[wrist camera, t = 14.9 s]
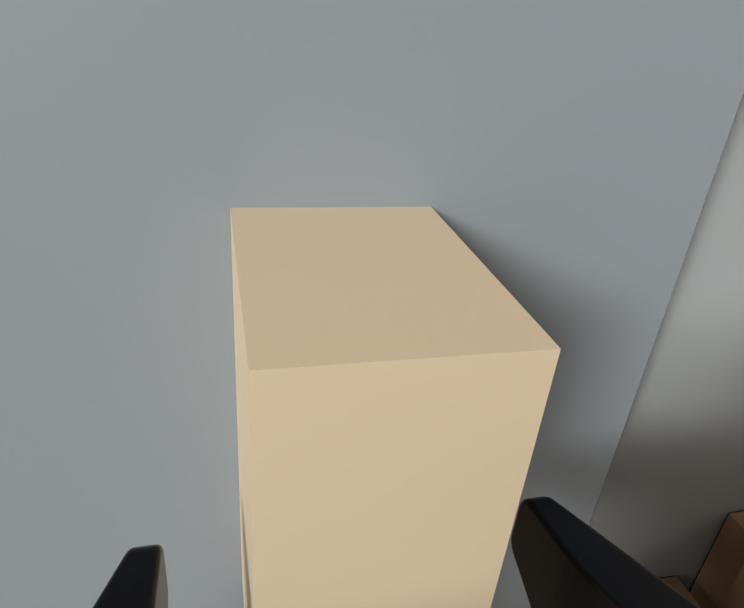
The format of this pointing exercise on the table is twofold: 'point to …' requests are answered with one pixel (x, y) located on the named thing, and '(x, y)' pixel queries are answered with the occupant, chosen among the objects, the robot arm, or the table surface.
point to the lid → (333, 281)
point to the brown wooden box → (719, 570)
